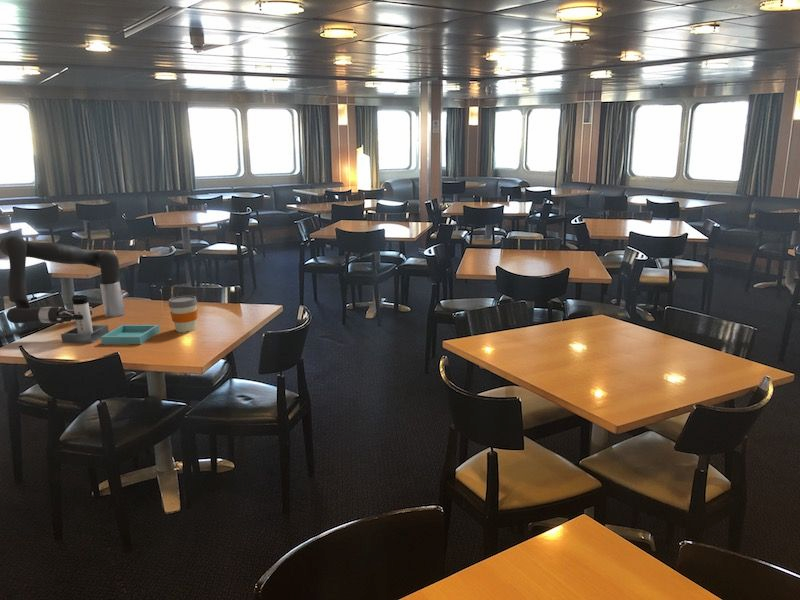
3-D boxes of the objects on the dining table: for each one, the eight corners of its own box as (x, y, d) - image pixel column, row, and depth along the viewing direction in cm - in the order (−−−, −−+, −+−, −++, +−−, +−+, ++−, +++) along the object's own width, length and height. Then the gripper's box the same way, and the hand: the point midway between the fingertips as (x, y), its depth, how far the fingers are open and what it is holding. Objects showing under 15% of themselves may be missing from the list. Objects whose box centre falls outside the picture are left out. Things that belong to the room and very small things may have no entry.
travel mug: (88, 335, 288) (81, 293, 283) (96, 337, 284) (90, 295, 279) (75, 338, 282) (68, 296, 277) (84, 341, 279) (76, 298, 274)
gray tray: (81, 333, 291) (79, 325, 290) (109, 333, 289) (107, 325, 288) (62, 342, 277) (60, 334, 276) (91, 343, 276) (90, 334, 275)
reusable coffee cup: (191, 334, 284) (187, 302, 280) (166, 333, 287) (162, 302, 283) (205, 326, 296) (201, 295, 292) (181, 325, 299) (177, 295, 295)
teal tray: (123, 332, 291) (122, 324, 290) (160, 332, 289) (159, 324, 288) (101, 344, 273) (100, 337, 273) (140, 344, 272) (139, 337, 271)
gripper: (40, 311, 274) (76, 311, 272) (61, 302, 288) (95, 302, 286) (43, 327, 276) (79, 327, 274) (64, 318, 290) (97, 318, 288)
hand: (87, 314), depth 280 cm, fingers closed on travel mug, 6 cm apart
